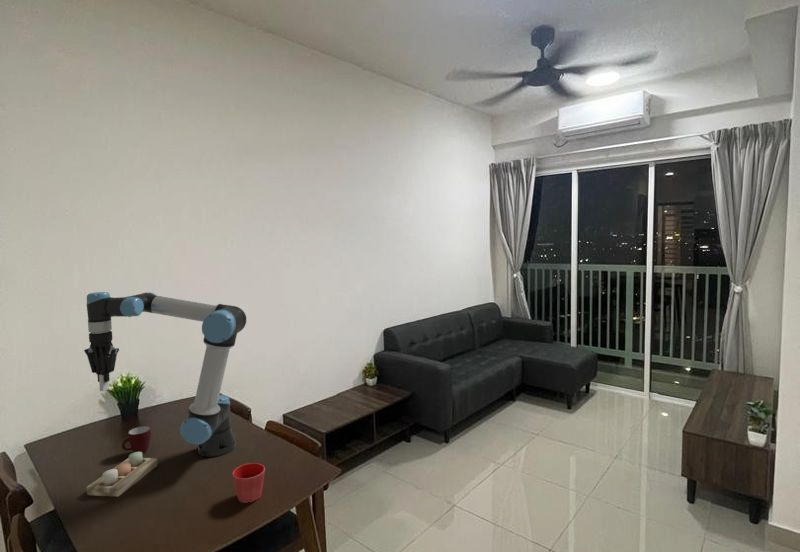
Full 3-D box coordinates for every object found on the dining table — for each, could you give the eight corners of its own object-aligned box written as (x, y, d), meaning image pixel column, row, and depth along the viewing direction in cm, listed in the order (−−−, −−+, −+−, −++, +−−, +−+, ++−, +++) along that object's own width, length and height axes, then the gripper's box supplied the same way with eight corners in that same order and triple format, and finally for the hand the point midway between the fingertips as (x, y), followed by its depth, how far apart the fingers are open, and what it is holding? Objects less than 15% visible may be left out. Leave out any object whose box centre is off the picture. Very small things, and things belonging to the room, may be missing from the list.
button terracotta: (134, 472, 163) (133, 463, 163) (125, 478, 159) (124, 469, 159) (122, 471, 164) (122, 462, 164) (113, 478, 159) (113, 469, 159)
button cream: (121, 478, 157) (120, 469, 157) (111, 485, 152) (111, 476, 152) (109, 477, 157) (109, 468, 157) (99, 484, 153) (99, 475, 152)
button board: (157, 465, 171) (156, 458, 171) (118, 496, 151) (117, 488, 150) (129, 464, 173) (129, 457, 172) (87, 495, 152) (86, 487, 151)
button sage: (145, 460, 170) (144, 451, 170) (137, 466, 165) (136, 457, 165) (134, 459, 170) (134, 451, 170) (126, 465, 166) (125, 457, 165)
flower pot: (254, 484, 157) (253, 459, 156) (271, 495, 150) (270, 469, 149) (227, 497, 149) (226, 471, 148) (244, 510, 142) (243, 482, 141)
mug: (125, 461, 175) (123, 438, 174) (120, 455, 180) (119, 432, 180) (154, 452, 182) (152, 430, 181) (148, 446, 188) (147, 424, 187)
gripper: (123, 329, 170) (126, 386, 172) (92, 329, 171) (96, 386, 173) (108, 333, 163) (112, 393, 165) (77, 333, 164) (81, 392, 166)
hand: (104, 389), depth 169 cm, fingers closed
